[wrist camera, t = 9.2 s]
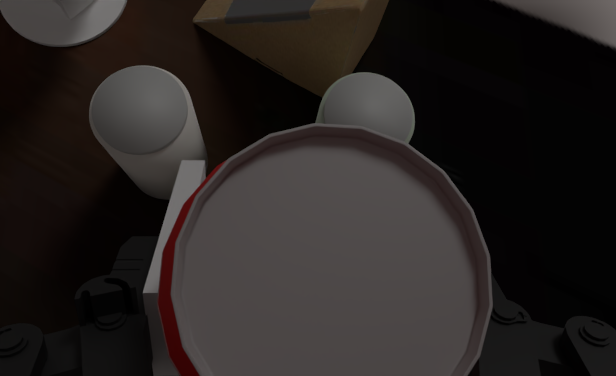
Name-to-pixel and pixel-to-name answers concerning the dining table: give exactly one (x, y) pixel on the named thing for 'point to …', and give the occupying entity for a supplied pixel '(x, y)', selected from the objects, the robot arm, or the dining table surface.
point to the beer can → (325, 263)
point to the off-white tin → (147, 126)
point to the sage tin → (368, 105)
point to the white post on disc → (61, 19)
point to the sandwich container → (297, 35)
